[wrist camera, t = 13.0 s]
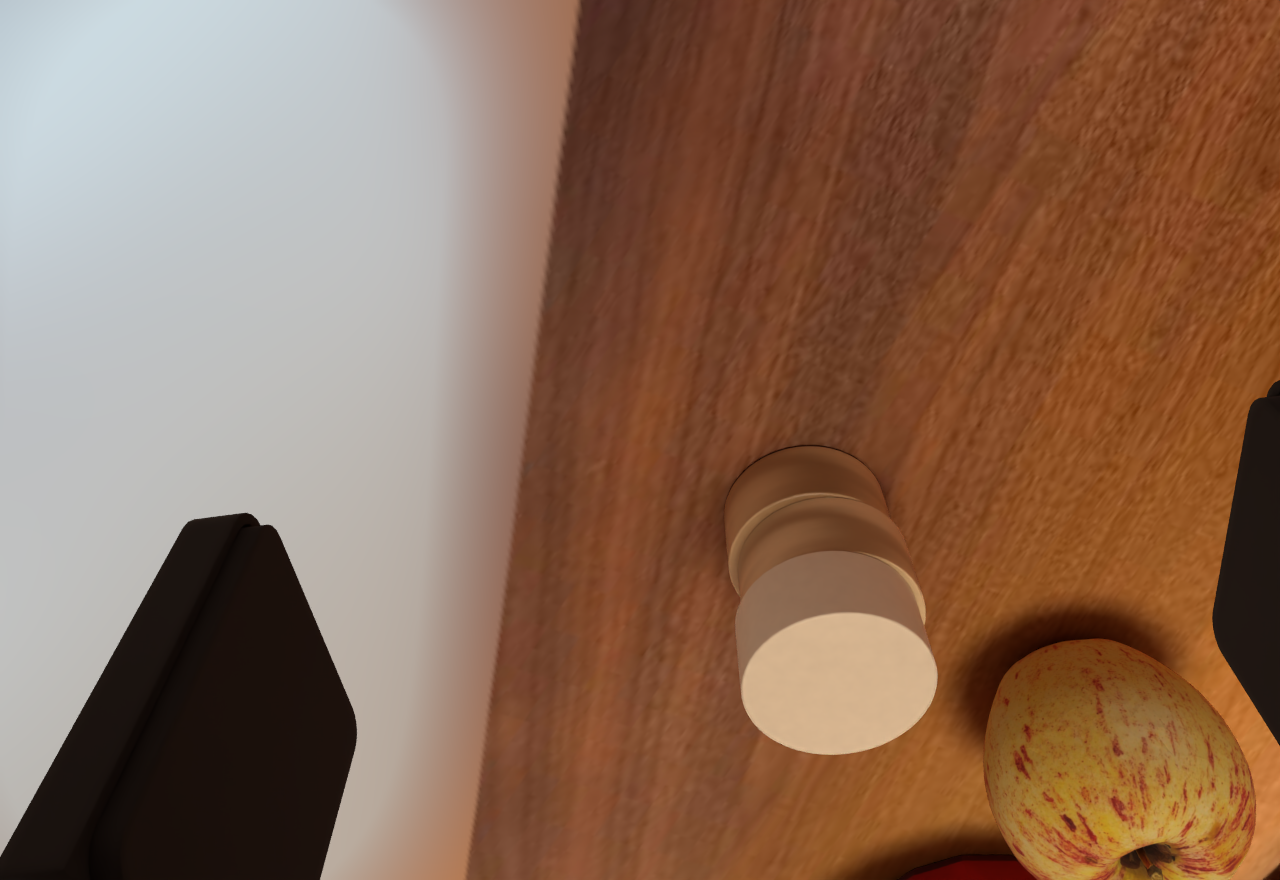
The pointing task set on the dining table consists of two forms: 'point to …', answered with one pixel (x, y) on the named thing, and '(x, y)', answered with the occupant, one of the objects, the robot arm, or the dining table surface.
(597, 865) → the dining table surface
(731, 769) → the dining table surface
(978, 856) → the bottle
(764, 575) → the wooden chip
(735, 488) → the chip pile
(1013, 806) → the apple
